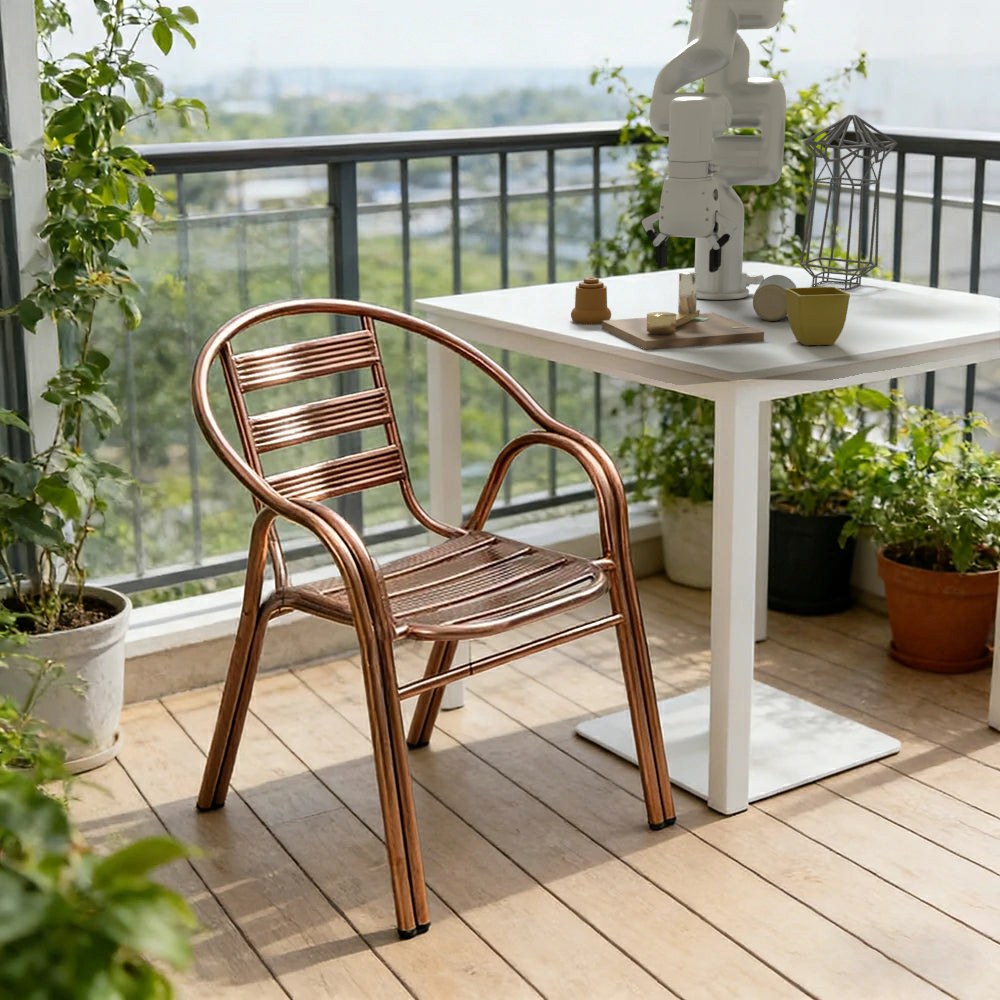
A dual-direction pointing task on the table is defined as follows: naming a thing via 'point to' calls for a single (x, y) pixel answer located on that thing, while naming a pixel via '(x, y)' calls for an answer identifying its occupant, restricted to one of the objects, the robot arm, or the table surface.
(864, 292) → the table surface
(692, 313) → the lever
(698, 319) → the brown flat wooden board
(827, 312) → the flower pot
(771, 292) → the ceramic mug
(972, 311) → the table surface
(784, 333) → the table surface
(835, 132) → the geometric lantern
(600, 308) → the ornamental finial
